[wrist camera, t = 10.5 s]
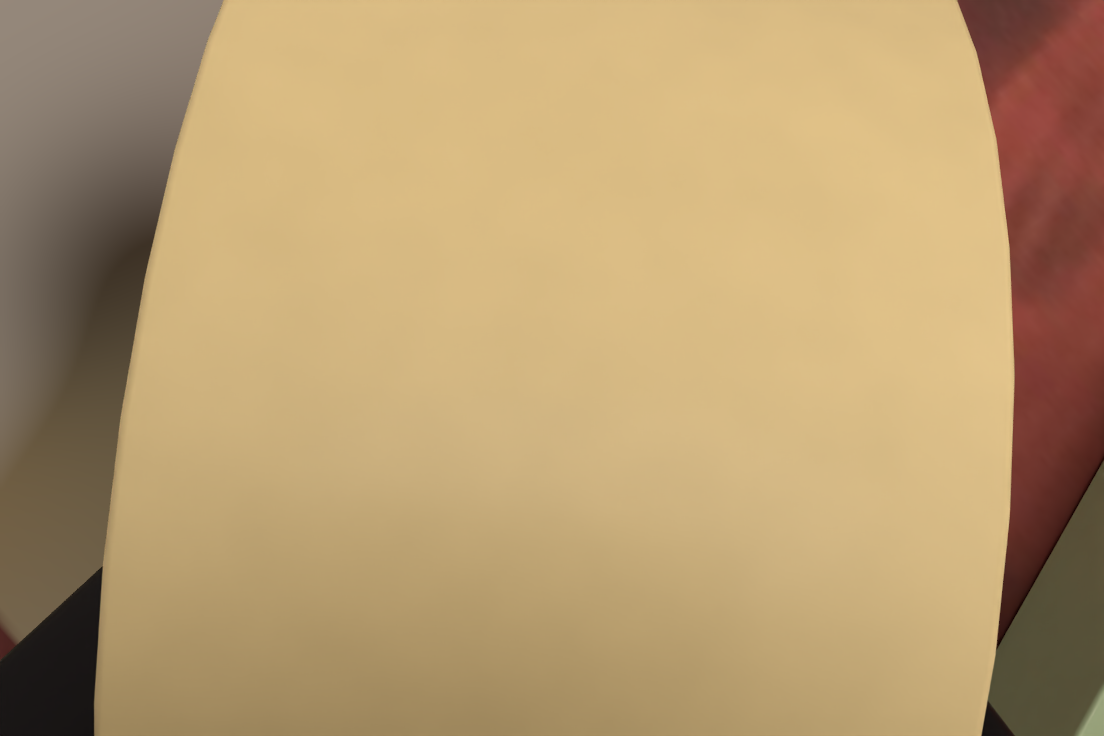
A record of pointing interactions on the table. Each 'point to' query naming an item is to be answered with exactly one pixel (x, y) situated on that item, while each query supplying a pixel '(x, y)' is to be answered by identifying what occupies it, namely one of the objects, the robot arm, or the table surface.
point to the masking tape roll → (568, 378)
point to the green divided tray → (1059, 636)
